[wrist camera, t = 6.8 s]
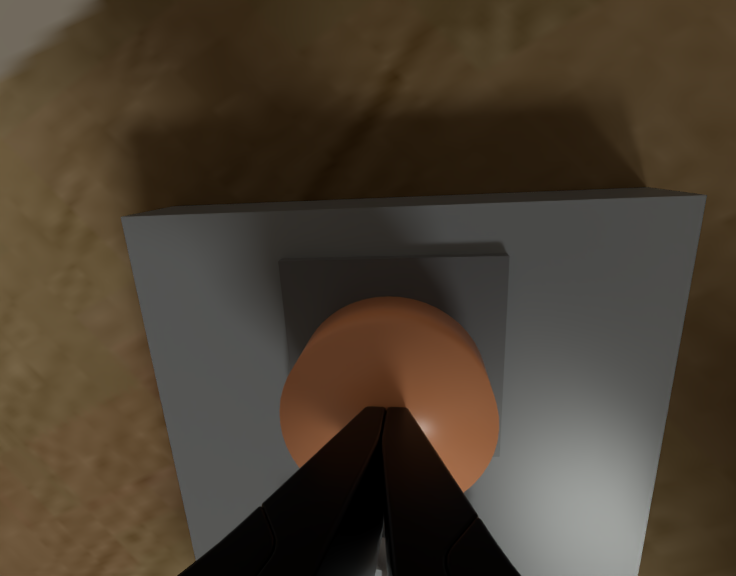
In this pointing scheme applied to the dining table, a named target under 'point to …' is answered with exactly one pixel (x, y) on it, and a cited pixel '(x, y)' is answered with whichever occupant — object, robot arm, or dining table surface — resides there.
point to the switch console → (465, 305)
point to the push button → (393, 382)
